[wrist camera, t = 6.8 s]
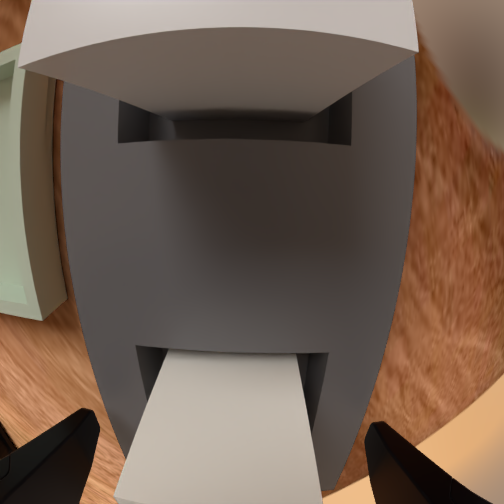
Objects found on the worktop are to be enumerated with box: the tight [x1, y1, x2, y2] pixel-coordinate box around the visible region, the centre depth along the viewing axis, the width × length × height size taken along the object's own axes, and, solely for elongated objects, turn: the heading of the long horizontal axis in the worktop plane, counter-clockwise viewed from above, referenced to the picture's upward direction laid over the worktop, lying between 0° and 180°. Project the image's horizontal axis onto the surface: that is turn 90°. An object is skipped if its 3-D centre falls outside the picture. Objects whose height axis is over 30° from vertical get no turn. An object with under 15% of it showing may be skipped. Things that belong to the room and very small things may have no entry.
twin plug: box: [17, 0, 419, 122], centre depth 5 cm, size 4×4×7 cm
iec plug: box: [113, 348, 323, 504], centre depth 8 cm, size 4×4×7 cm
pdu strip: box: [61, 55, 417, 491], centre depth 8 cm, size 25×9×3 cm, turn 179°
